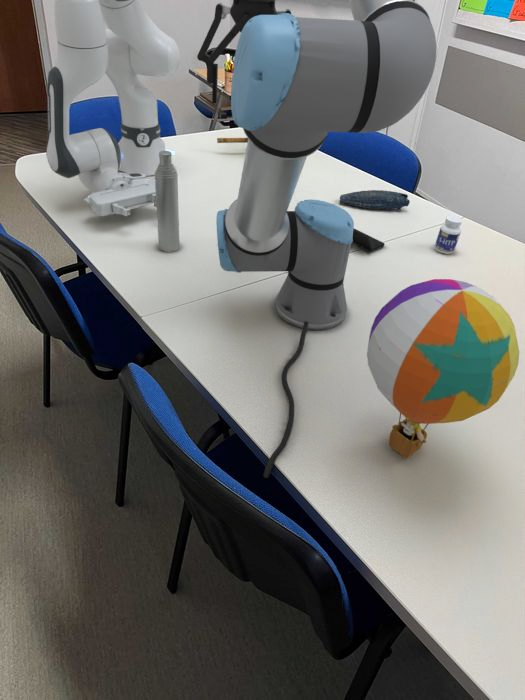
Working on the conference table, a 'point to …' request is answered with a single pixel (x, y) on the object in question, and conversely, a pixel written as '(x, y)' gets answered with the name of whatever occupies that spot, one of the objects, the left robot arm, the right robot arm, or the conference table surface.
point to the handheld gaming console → (366, 241)
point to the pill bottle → (448, 235)
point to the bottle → (167, 203)
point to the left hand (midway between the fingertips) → (144, 208)
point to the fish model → (376, 199)
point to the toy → (440, 356)
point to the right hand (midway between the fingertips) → (248, 104)
